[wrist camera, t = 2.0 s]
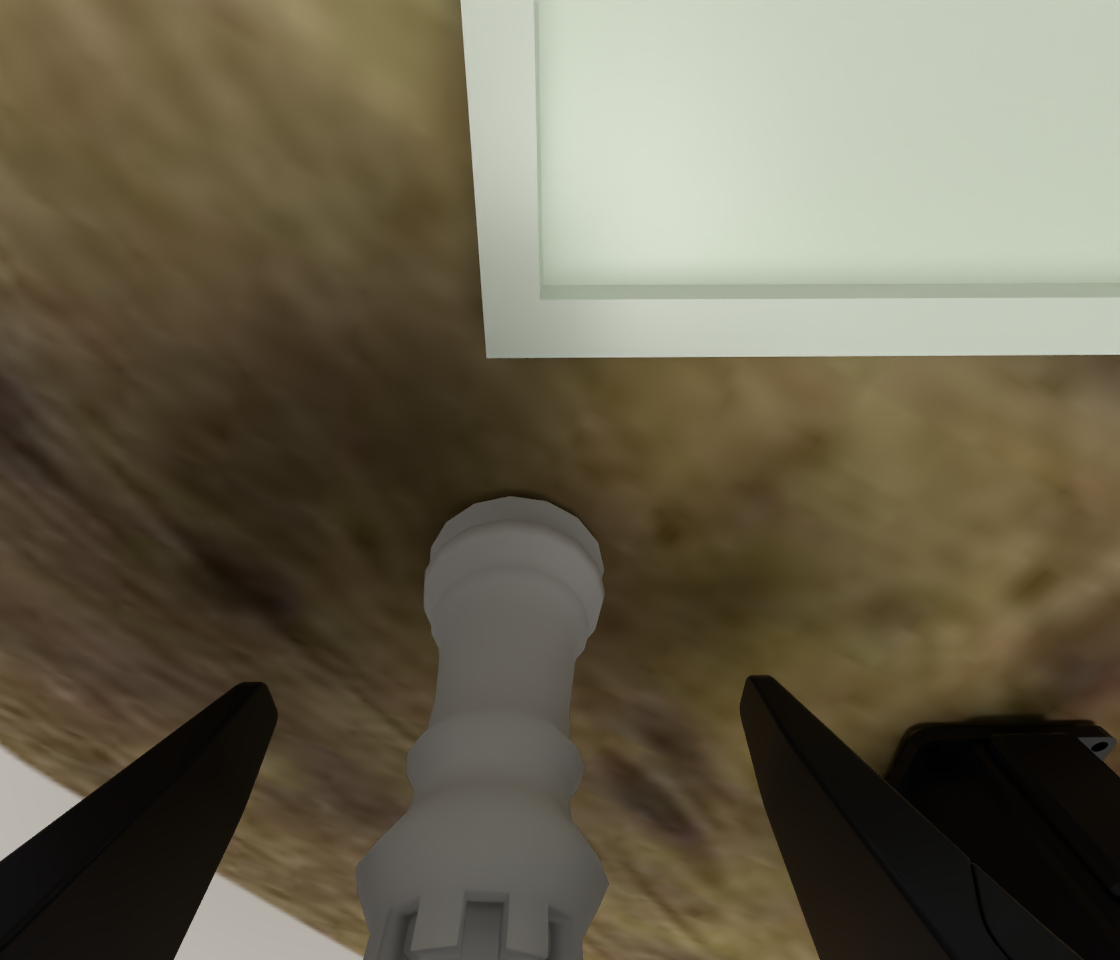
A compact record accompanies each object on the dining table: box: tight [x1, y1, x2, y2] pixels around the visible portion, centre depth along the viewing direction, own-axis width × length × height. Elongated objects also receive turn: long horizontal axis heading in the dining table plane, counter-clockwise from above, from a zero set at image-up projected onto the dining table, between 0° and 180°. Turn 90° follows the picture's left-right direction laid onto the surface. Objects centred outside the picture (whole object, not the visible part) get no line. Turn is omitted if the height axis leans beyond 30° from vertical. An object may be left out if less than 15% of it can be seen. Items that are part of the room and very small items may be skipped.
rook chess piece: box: [356, 496, 609, 960], centre depth 9 cm, size 4×4×8 cm
